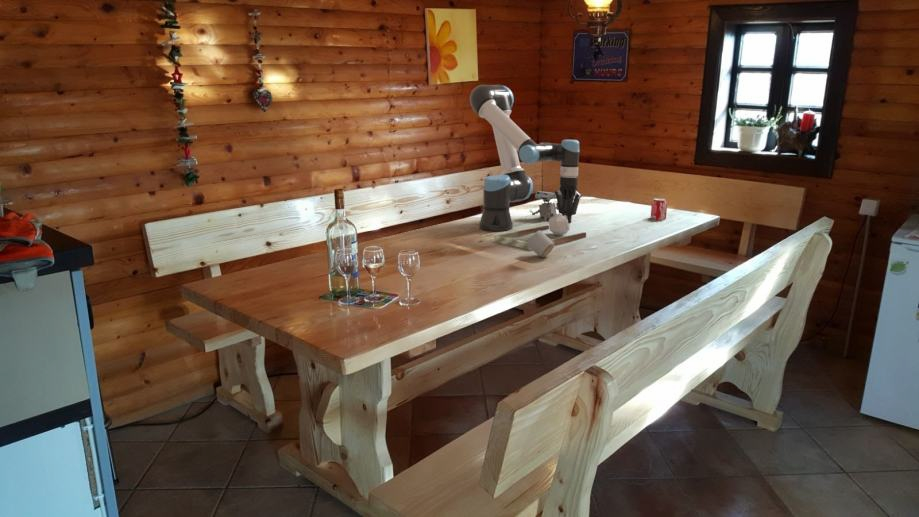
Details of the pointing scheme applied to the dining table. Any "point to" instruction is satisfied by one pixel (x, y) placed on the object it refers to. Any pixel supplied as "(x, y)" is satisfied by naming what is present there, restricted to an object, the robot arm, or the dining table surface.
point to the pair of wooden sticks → (510, 240)
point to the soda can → (659, 209)
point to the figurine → (546, 205)
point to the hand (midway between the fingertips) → (566, 230)
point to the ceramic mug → (540, 244)
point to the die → (558, 224)
